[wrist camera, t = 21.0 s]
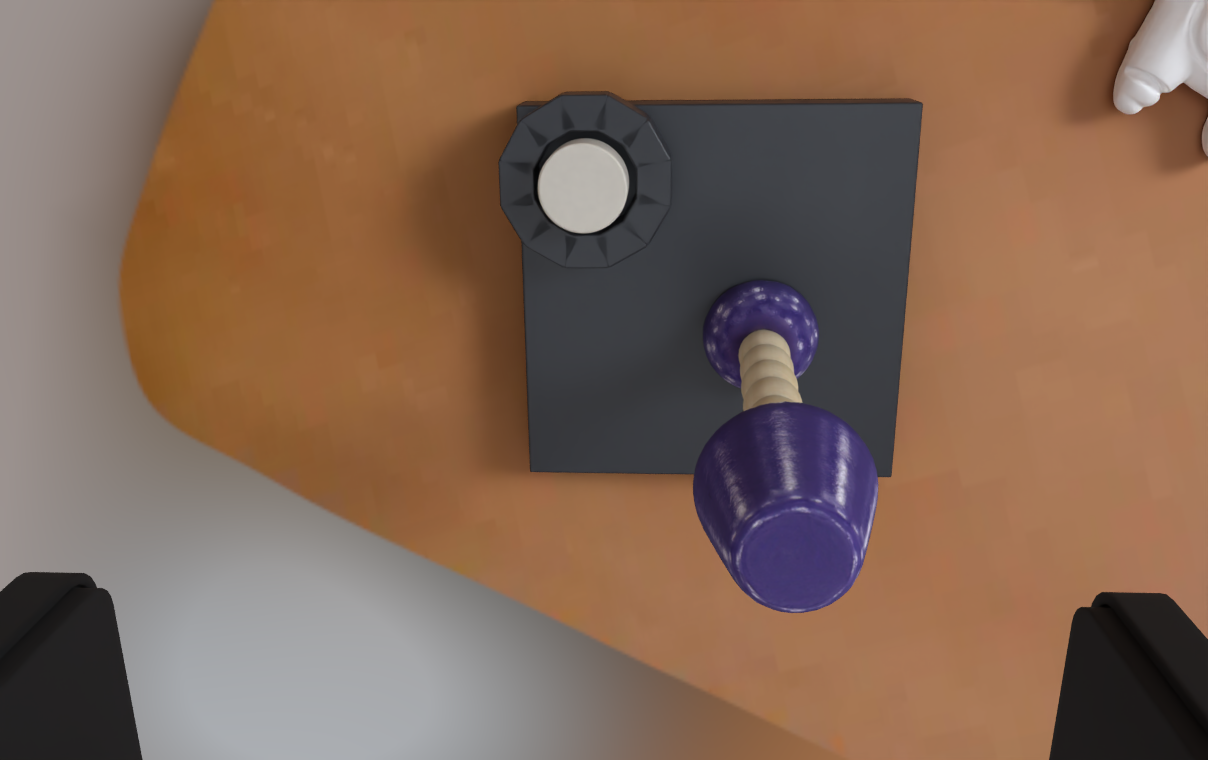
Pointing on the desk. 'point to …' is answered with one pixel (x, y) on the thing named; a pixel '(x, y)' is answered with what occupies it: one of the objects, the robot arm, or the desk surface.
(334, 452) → the desk surface
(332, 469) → the desk surface
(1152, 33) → the white flat figure
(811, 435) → the toy lamp
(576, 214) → the button
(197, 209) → the desk surface
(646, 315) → the scale
